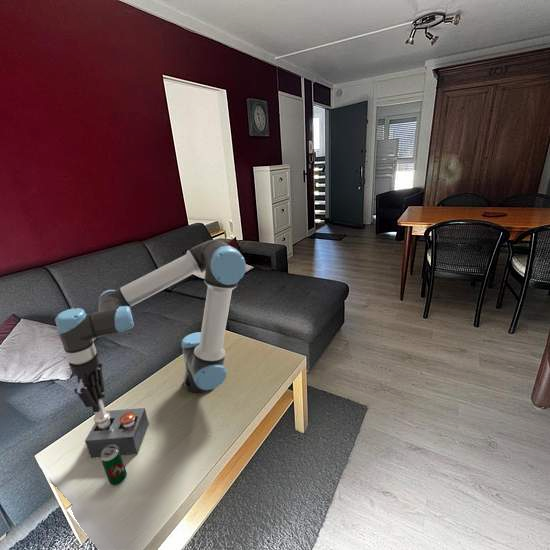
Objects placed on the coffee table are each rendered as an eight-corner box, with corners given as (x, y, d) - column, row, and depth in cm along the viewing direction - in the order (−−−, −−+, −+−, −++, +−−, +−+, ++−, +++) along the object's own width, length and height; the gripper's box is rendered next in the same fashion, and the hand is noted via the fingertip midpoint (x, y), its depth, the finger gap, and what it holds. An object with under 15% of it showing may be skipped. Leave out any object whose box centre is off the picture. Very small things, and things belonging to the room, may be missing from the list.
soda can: (113, 471, 95) (104, 443, 91) (129, 469, 96) (121, 442, 91) (106, 487, 91) (96, 459, 86) (123, 485, 91) (114, 457, 87)
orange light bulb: (140, 428, 107) (136, 411, 104) (136, 439, 103) (131, 421, 100) (127, 429, 107) (122, 412, 104) (122, 440, 103) (117, 423, 100)
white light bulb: (116, 427, 106) (111, 410, 103) (111, 438, 102) (105, 421, 99) (103, 428, 106) (97, 411, 103) (97, 439, 102) (91, 422, 99)
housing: (148, 424, 112) (144, 407, 109) (137, 454, 101) (132, 436, 98) (107, 427, 111) (101, 411, 108) (91, 458, 100) (84, 440, 97)
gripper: (81, 345, 98) (98, 401, 107) (57, 372, 86) (79, 433, 95) (105, 344, 98) (120, 400, 107) (84, 370, 86) (104, 431, 95)
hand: (101, 415), depth 101 cm, fingers closed
